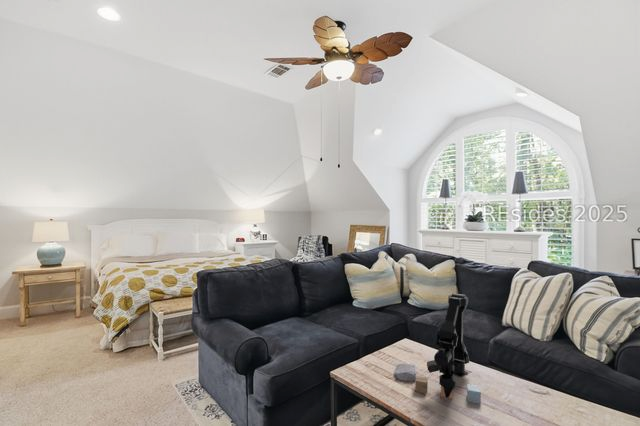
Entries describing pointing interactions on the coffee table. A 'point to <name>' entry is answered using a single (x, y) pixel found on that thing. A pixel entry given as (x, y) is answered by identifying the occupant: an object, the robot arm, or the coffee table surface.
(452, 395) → the terracotta block
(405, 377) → the stone block
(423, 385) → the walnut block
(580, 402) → the coffee table surface
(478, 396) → the slate blue block
